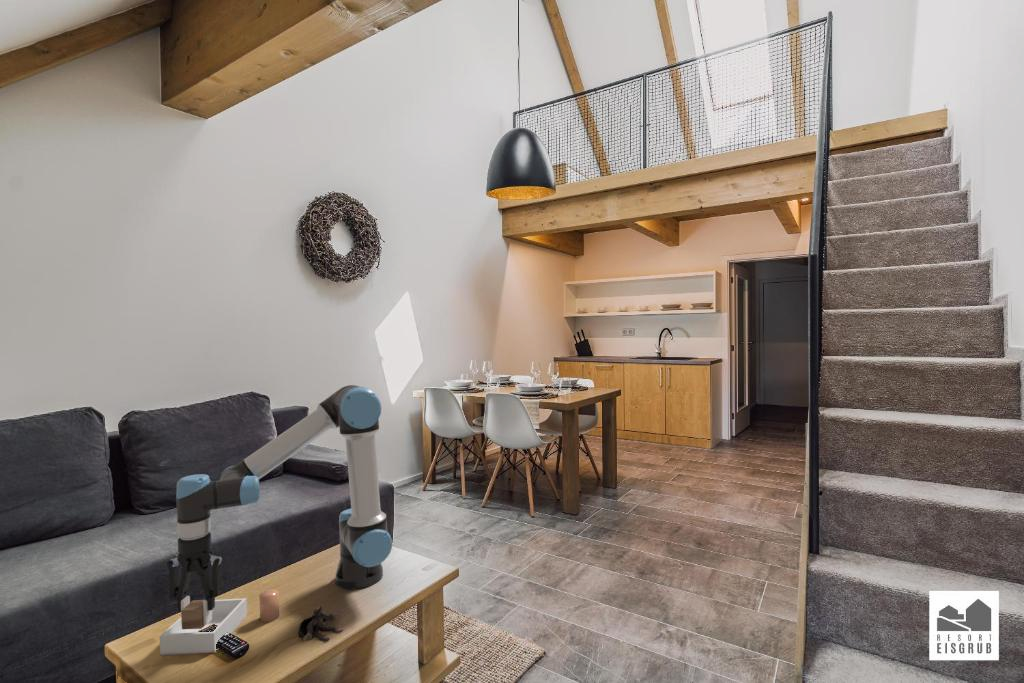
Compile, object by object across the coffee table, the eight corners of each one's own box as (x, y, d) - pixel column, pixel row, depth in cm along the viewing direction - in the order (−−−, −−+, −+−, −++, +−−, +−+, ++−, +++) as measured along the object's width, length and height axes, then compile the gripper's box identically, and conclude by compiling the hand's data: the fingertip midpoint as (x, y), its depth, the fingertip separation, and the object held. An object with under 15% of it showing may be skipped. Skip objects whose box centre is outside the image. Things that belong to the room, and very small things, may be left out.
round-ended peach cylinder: (282, 612, 150) (281, 588, 150) (275, 621, 145) (274, 597, 145) (264, 613, 150) (264, 589, 150) (257, 622, 145) (256, 598, 145)
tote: (247, 615, 149) (246, 598, 149) (214, 652, 132) (214, 633, 132) (199, 617, 149) (198, 600, 149) (160, 655, 131) (159, 635, 131)
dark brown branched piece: (316, 645, 132) (293, 608, 138) (305, 668, 136) (283, 631, 141) (354, 623, 142) (331, 589, 147) (343, 645, 145) (321, 611, 151)
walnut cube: (201, 628, 134) (200, 609, 134) (182, 629, 134) (181, 610, 134) (212, 617, 139) (211, 599, 139) (193, 618, 139) (192, 600, 139)
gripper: (236, 528, 140) (238, 613, 140) (168, 530, 139) (170, 616, 140) (221, 539, 133) (224, 628, 133) (150, 541, 132) (152, 632, 132)
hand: (197, 622), depth 136 cm, fingers closed on walnut cube, 5 cm apart
